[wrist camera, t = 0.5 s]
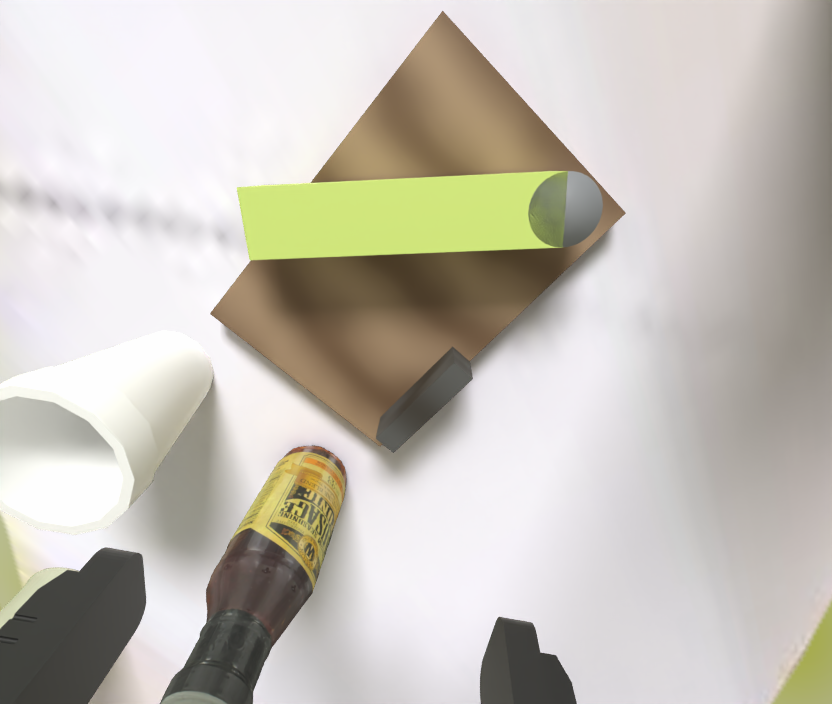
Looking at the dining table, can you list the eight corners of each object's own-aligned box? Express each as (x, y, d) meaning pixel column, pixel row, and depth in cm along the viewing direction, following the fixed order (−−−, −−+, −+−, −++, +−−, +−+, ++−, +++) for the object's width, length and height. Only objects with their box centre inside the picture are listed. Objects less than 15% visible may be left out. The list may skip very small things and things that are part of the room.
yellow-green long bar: (583, 169, 28) (606, 169, 24) (578, 236, 29) (598, 246, 26) (262, 185, 29) (236, 187, 25) (272, 249, 30) (249, 260, 27)
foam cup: (149, 429, 39) (20, 547, 27) (92, 330, 36) (-83, 411, 24) (251, 404, 37) (164, 514, 25) (201, 298, 34) (75, 367, 22)
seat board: (442, 21, 27) (443, -9, 23) (614, 210, 31) (646, 217, 26) (222, 306, 34) (189, 327, 30) (382, 432, 38) (375, 469, 33)
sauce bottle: (362, 485, 40) (300, 754, 22) (302, 509, 41) (195, 783, 23) (323, 426, 38) (218, 667, 20) (261, 453, 39) (108, 705, 21)
